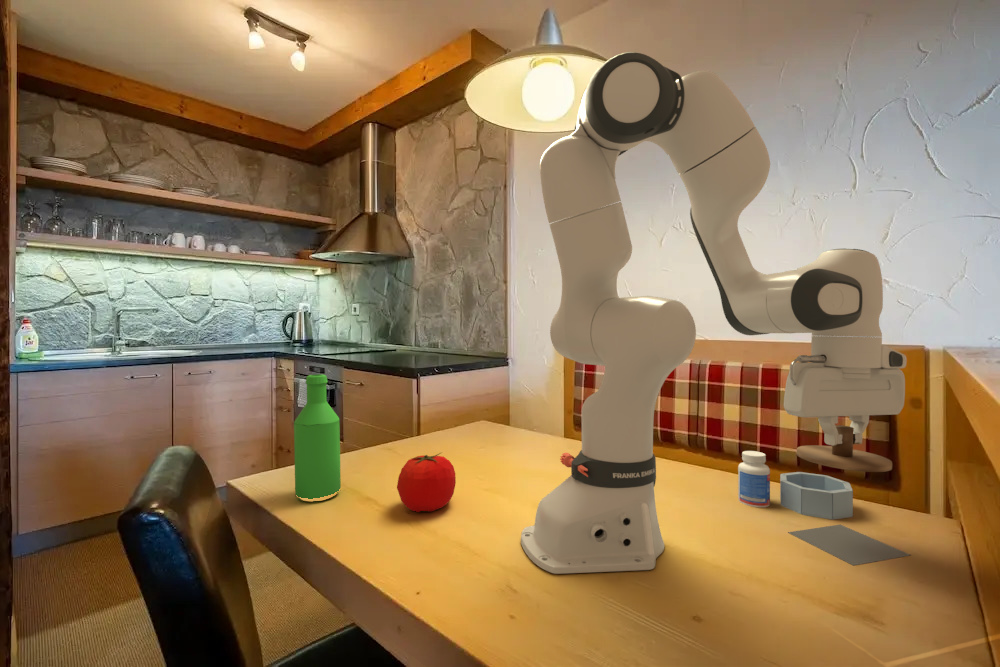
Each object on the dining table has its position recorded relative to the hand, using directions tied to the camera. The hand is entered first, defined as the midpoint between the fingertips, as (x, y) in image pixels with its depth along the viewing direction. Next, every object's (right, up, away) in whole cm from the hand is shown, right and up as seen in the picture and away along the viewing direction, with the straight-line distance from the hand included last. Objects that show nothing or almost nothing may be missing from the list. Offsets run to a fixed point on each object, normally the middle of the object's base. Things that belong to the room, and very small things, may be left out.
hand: (843, 444), depth 73 cm
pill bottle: (-4, -16, +17) cm, 24 cm away
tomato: (-67, -16, +18) cm, 72 cm away
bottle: (-91, -17, +24) cm, 95 cm away
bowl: (+6, -16, +15) cm, 22 cm away
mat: (+1, -16, 0) cm, 16 cm away
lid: (0, -3, 0) cm, 3 cm away
